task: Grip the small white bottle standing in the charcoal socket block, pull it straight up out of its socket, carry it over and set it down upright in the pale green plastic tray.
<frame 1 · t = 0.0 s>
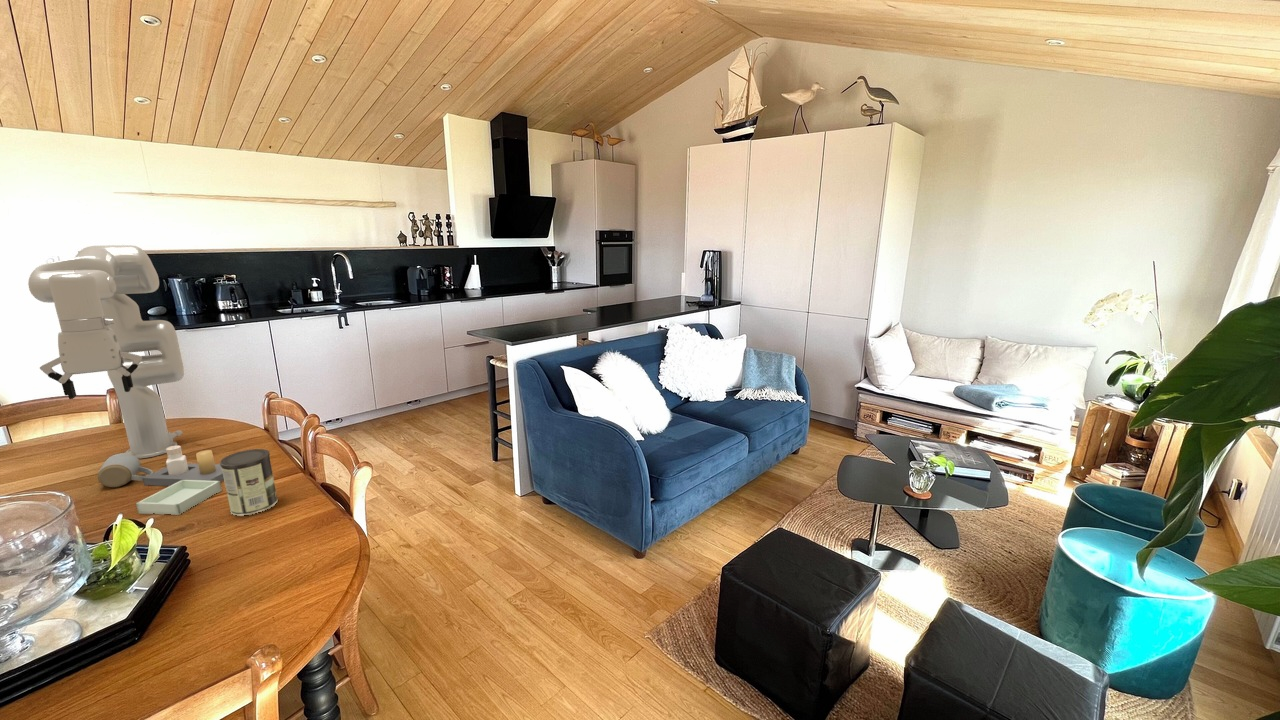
hand: (101, 394, 128), 31 cm above the table, tool pointing down, fingers open, 9 cm apart
small white bottle: (180, 478, 152), resting in socket block
tray: (181, 501, 139), on the table
coffee can: (254, 507, 137), on the table
ceramic mug: (128, 481, 150), on the table
socket block: (193, 478, 152), on the table
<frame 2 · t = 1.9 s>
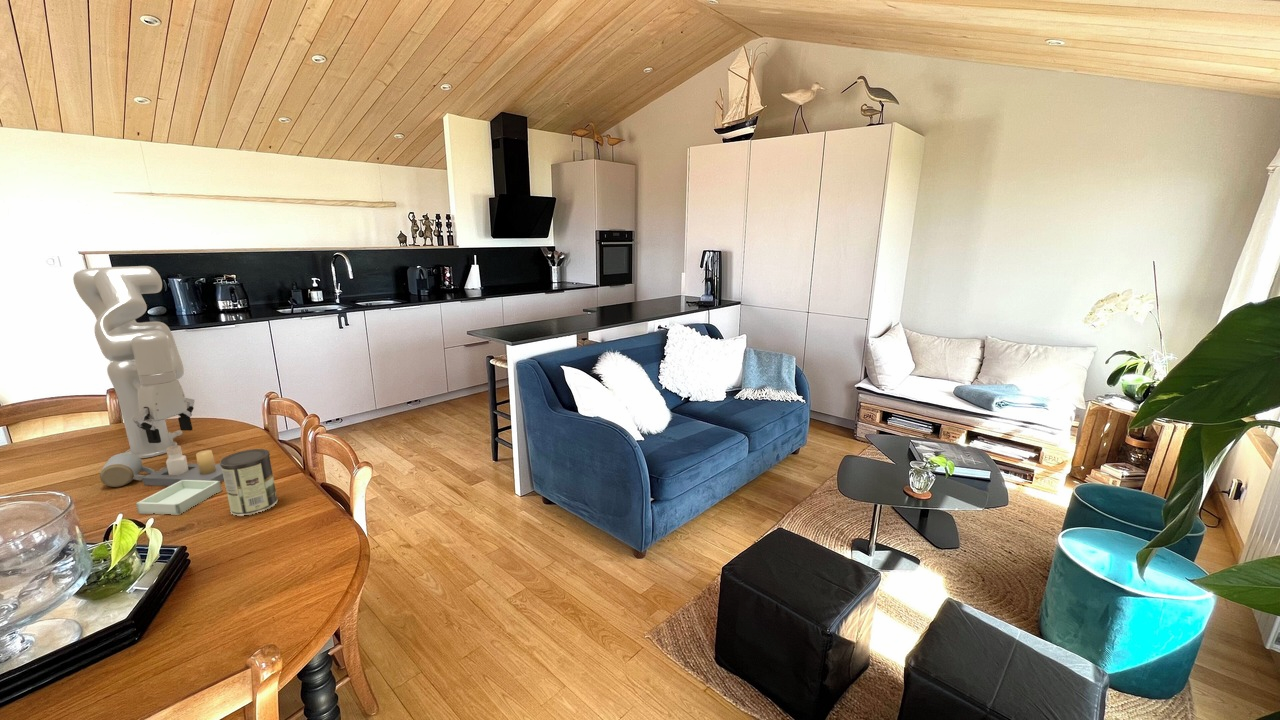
hand: (171, 436, 149), 13 cm above the table, tool pointing down, fingers open, 9 cm apart
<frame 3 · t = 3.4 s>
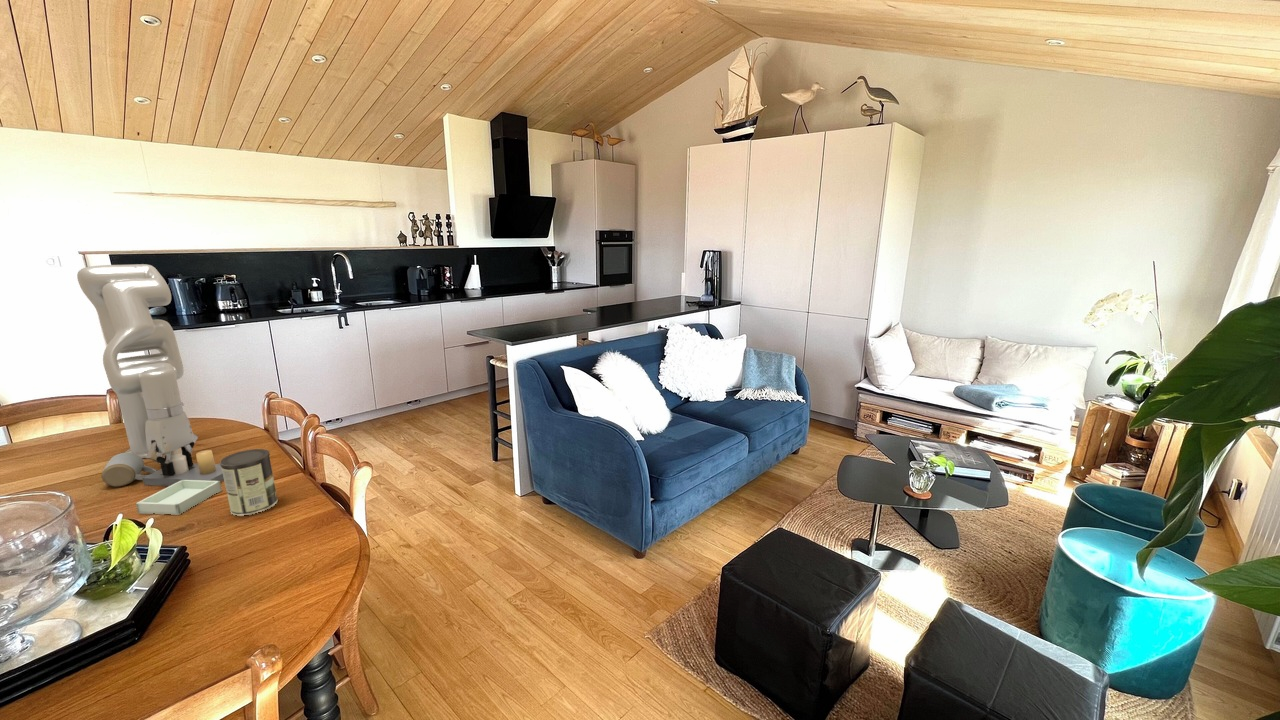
hand: (178, 469, 152), 2 cm above the table, tool pointing down, fingers closed on small white bottle, 5 cm apart
small white bottle: (180, 478, 152), resting in socket block, touching gripper
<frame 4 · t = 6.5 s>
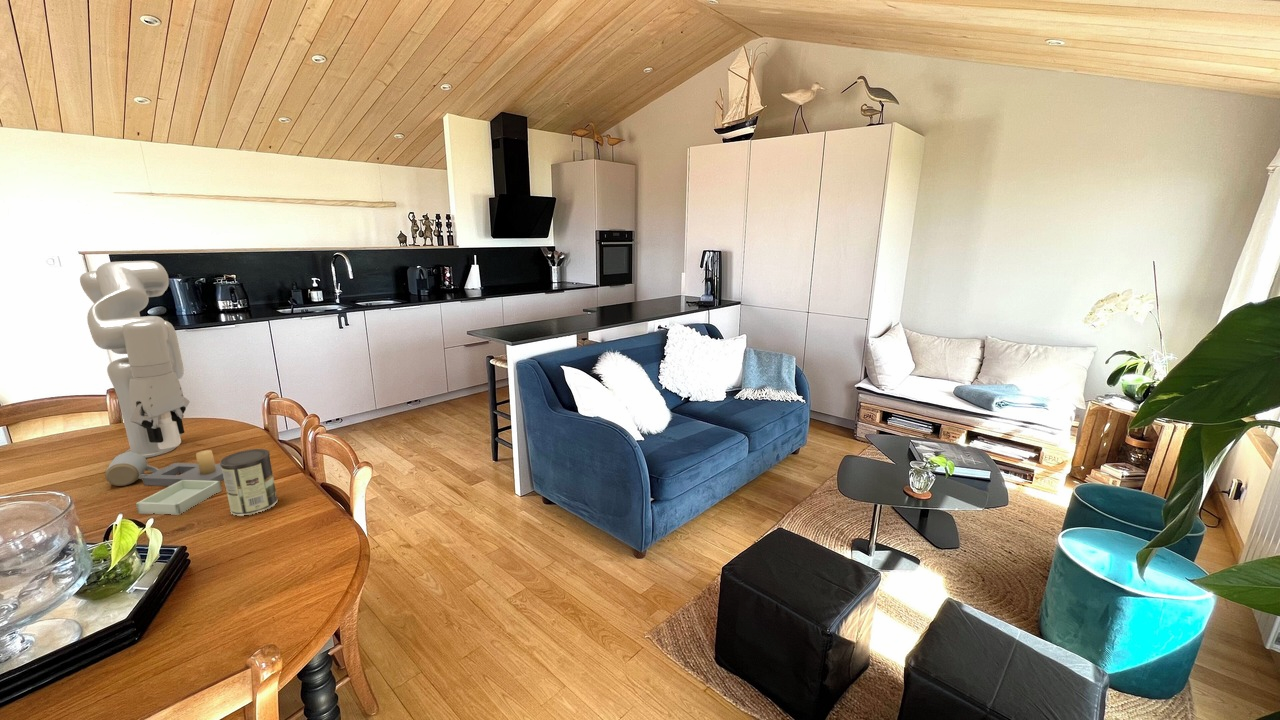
hand: (167, 436, 135), 18 cm above the table, tool pointing down, fingers closed on small white bottle, 5 cm apart
small white bottle: (170, 447, 135), point 16 cm above the table, touching gripper
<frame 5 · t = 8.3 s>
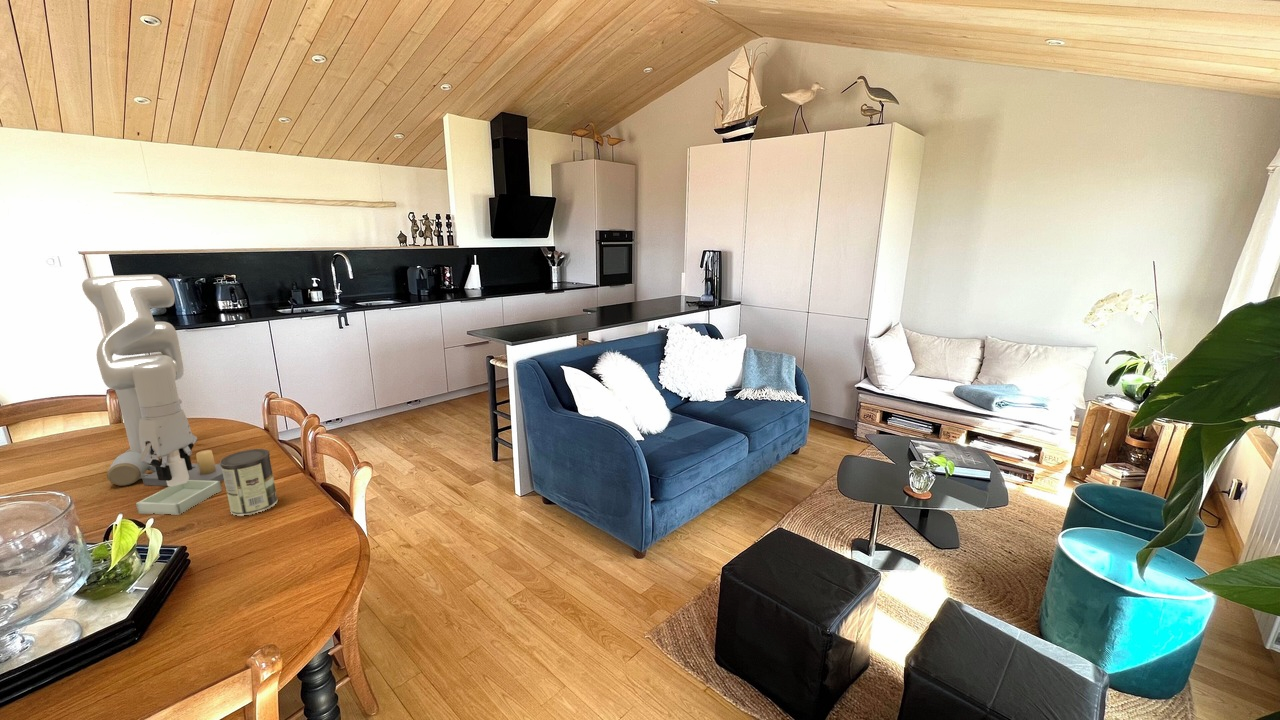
hand: (175, 474, 137), 8 cm above the table, tool pointing down, fingers closed on small white bottle, 5 cm apart
small white bottle: (179, 484, 138), point 5 cm above the table, touching gripper
when the fingers open (5 cm above the table, at t = 9.4 s): small white bottle drops 2 cm, resting on tray.
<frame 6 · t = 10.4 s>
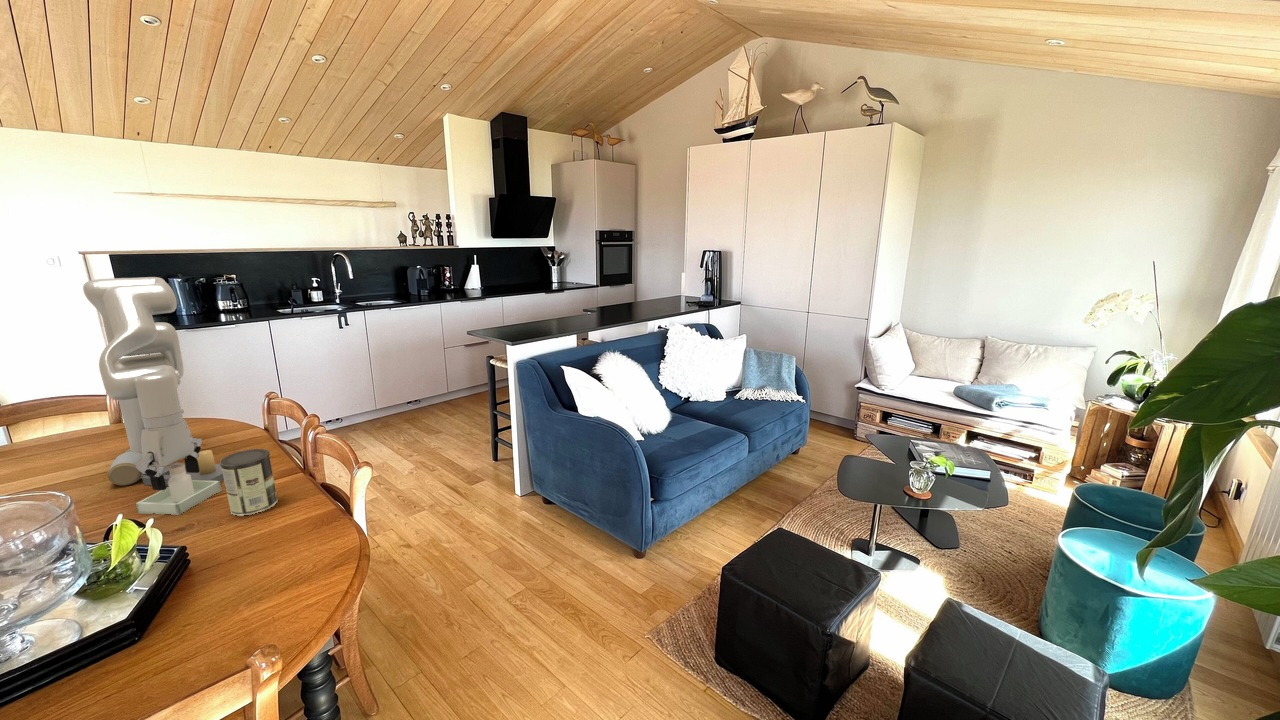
hand: (177, 480, 138), 6 cm above the table, tool pointing down, fingers open, 9 cm apart
small white bottle: (184, 499, 139), resting on tray
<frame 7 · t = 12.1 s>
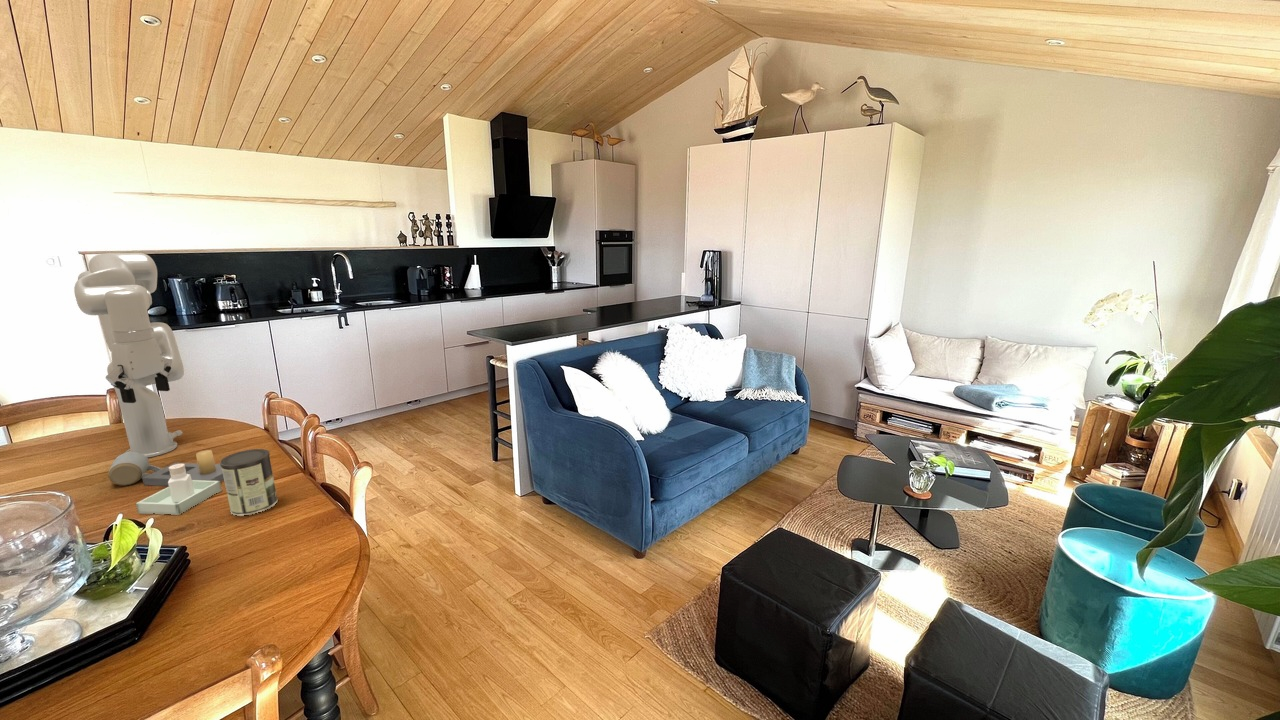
hand: (147, 396, 143), 26 cm above the table, tool pointing down, fingers open, 9 cm apart
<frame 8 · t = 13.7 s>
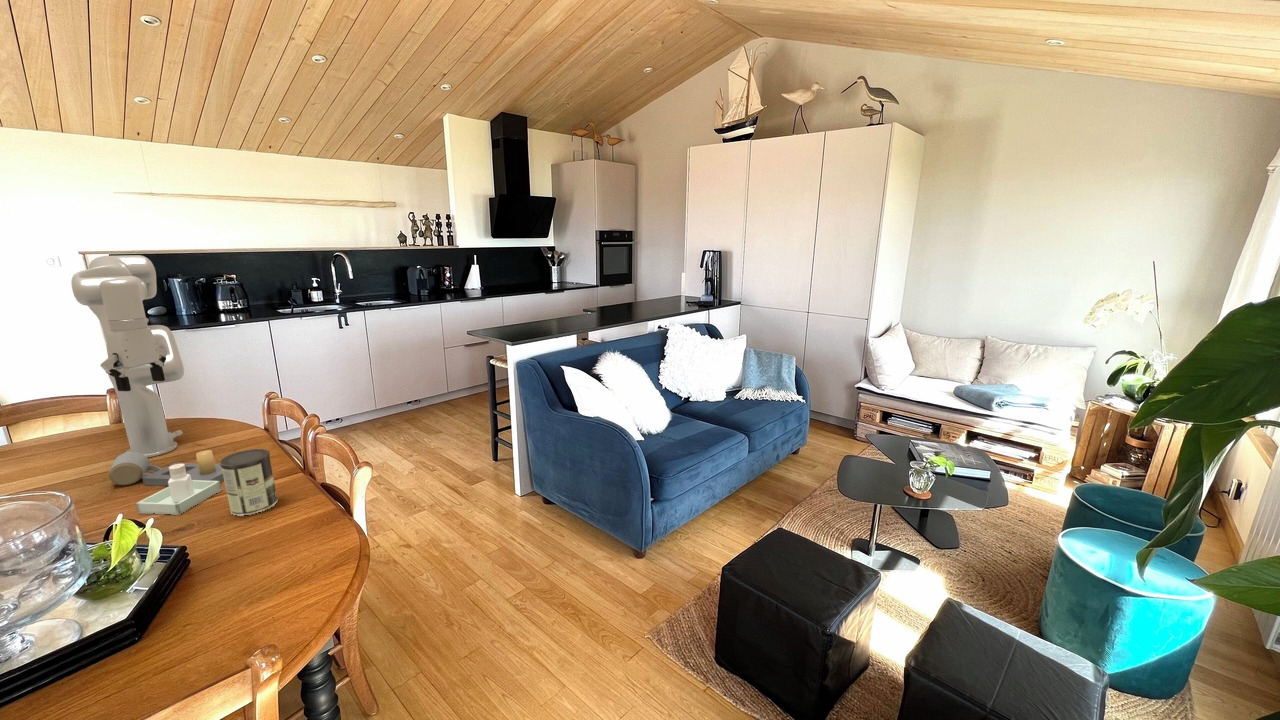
hand: (142, 385, 145), 28 cm above the table, tool pointing down, fingers open, 9 cm apart
at the end: small white bottle inside the target area on the tray (0.6 cm from its centre), point 0.4 cm above the tray's base; small white bottle tilted 0°; the gripper is holding nothing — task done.
